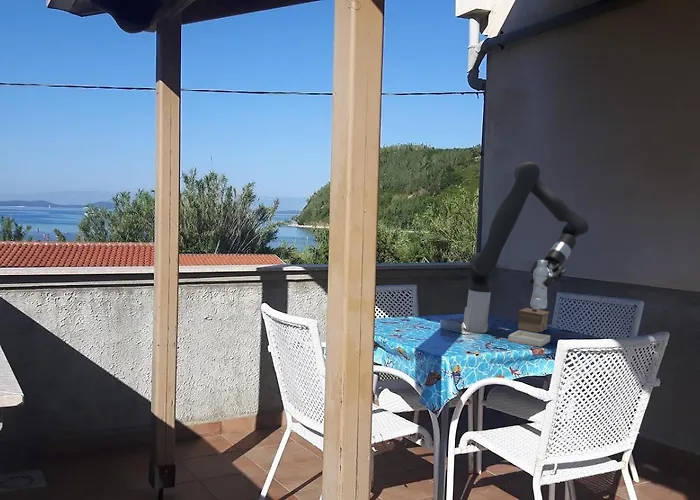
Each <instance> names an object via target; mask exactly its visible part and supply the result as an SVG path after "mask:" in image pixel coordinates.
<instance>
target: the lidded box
mask: <svg viewBox="0 0 700 500" xmlns="http://www.w3.org/2000/svg"><path fill="white" fill-rule="evenodd" d="M517 314H519V315H518V323H517V330H521V331H527V332H533V333H538V332H541V333H543V332H544V330H545V331H546V330H547V328H548V319H549V315H550V311H547V310H543V309H541V310H538V309H535V308H532V307H531V308H528V307H525V308H523V309H520V310H518V313H517ZM542 331H543V332H542Z"/></svg>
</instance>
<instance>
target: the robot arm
mask: <svg viewBox="0 0 700 500" xmlns="http://www.w3.org/2000/svg"><path fill="white" fill-rule="evenodd" d="M513 175H514V179H515V181H514V184H513V185H512V188H511V189H510V192H508V194H507V195H506V196H505V198H504V199H503V201H502V202H501V203H500V204H499V206H498V208H497V210H496V212H495V214H494V216H493V218H492V221H491V224H490V227H489V231H488V232H489V233H488V237H487V240H486V242H485V244H484V245H483V248H482V249H481V251H480V252H477V253H475V254H474V255H473V256H472V257H471V259H470V264H469V272H468V294H467V305H466V306H465V307H464V314H463V323H464V324H465V326H466V330H465V331H466V332H470V333H471V332H472V333H477V334H478V333H479V334H482V333H483V334H484V333H487V330H488V319H489V314H490V313H489V312H490V311H489V310H490V303H491V302H490V301H491V292H492V284H491V283H492V282H491V274H492V273H493V272H494V271H495V269H496V267H497V265H498V263H499V262H498V261H499V260H500V256H501V254H502V253H501V252H502V251H503V249H504V246H505V245H506V243H507V241H508V239H509V237H510V236H511V233H512V231H513V230H514V228H515V226H516V223H517V221H518V220H519V217H520V214H521V213H522V211H523V208H524V206H525V203H526V201H527V198H528V196H529V195H530V194H531V193H532V195H533V196H534V197H536V198H537V200H539V201H540V203H541V204H542V205H543V206H544V207H545V208H546V210H547V211H549V212H550V214H551V215H552V216H553V217H554V218H555V219H556V220H557V221H558V222H564V223H565V225H564V226H563V228H562V229H561V230H562V231H561V233H560V236H559V238H558V239H557V241H556V242H555V243H554V244H553V245H552V247H551V248H550V249H549V251H548V252H547V254H546V256H545V257H544V259H543V260H547V261H548V265H547V268H548V269H549V272H550V275H549V277H548V278H547V279H546V281H545V282H544V285H545V287H547V288H548V287H549V286H550V285H551V284H552V282H553V281H556V282H557V281H559V280H560V279H561V278H562V276H563V275H565V273H566V268H565V266H563V265H564V264H565V263H566V261H567V260H568V258H569V256H570V254H571V252H572V250H573V249H574V248H575V246H576V243H577V240H576V239H577V238H578V237H580V236H583V235H585V234H586V233H588V231H589V229H590V228H589V227H590V226H589V223H588V221H587V220H586V218H585V217H583V215H581V214H578V213H577V212H576V211H575V210H573V209H571V208H570V207H569V206H568V205H567V203H566V202H565V201H564V200H563V199H562V198H561V197H560V196H559V195H558V194H556V193H555V192H554V191H553V190H552V189H550V188H549V187H548V186H547V185H546V184H545V183H544V182H543V181H542V180H541V178H540V175H541V169H540V167H539V165H538V164H537V163H536V162H533V161H526V162H525V161H524V162H522V163H520V164H518V165H516V167H515V168H514V170H513ZM537 266H538V261H535V262H534V263H533V265H532V267H531V269H530V271H529V272H530V275H531V277H530V278H529V283H530V284H531V285H534V278H533V272H534V270H535V269H536V268H537ZM463 323H462V324H463Z"/></svg>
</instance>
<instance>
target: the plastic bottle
mask: <svg viewBox="0 0 700 500" xmlns="http://www.w3.org/2000/svg"><path fill="white" fill-rule="evenodd" d="M537 263H538V266H537V268H536V269H535V270H534V272H533V278H534V284H533V290H532V296H531V298H530V301H529V302H530V307H531V309H532V308H535V309H537V310H545V309H547V307H548V287H545V285H544V282H545V281H546V279H547V278H548V277H549V275H550V272H549V269H548V268H547V265H548V261H547V260H544V259H538V261H537Z"/></svg>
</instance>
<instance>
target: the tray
mask: <svg viewBox="0 0 700 500" xmlns="http://www.w3.org/2000/svg"><path fill="white" fill-rule="evenodd" d="M507 341H508V342H510V343H515V344H520V343H521V344H522V345H525V344H527V346H531V345H532V346H531V347H536V346H538V347H537V348H542V347H543V346H545V345H547V344H548V343H550V342H551V335H548V334H542V333H538V332H533V331H527V330H521V329H518V330H517V331H514V332H512V333H510V334H509V335H508V338H507Z"/></svg>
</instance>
